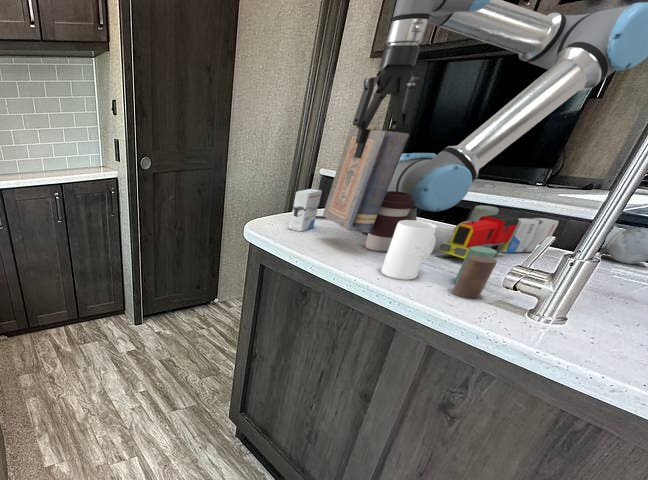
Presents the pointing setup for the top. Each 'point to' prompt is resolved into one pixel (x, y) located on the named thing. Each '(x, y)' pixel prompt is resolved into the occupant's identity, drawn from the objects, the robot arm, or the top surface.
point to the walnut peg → (474, 276)
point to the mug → (409, 249)
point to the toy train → (481, 235)
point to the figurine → (626, 245)
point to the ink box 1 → (305, 209)
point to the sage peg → (475, 251)
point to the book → (364, 179)
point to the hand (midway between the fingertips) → (371, 157)
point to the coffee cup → (389, 219)
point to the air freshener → (481, 213)
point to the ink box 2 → (530, 234)
